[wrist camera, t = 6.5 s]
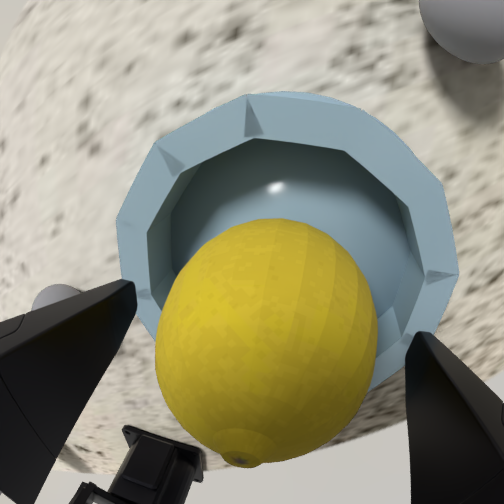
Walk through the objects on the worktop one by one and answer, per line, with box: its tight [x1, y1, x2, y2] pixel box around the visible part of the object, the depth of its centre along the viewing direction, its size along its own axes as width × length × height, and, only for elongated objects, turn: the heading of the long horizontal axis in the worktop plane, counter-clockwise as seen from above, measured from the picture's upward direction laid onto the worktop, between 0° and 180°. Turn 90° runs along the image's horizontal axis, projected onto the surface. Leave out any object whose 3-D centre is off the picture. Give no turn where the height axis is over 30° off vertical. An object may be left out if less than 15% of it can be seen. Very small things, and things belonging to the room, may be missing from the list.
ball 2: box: [419, 0, 504, 64], centre depth 6 cm, size 4×4×4 cm
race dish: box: [116, 91, 459, 392], centre depth 11 cm, size 12×12×3 cm
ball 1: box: [31, 284, 80, 311], centre depth 15 cm, size 4×4×4 cm
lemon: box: [155, 218, 378, 468], centre depth 8 cm, size 6×6×8 cm
